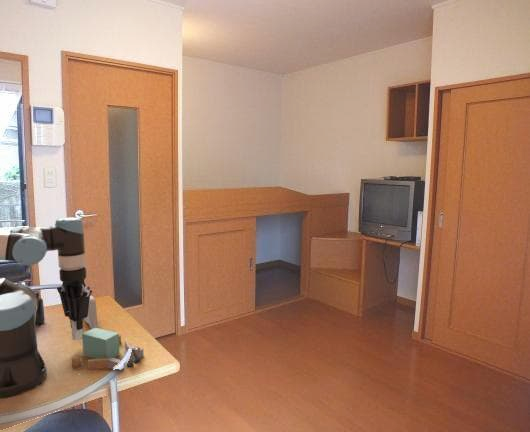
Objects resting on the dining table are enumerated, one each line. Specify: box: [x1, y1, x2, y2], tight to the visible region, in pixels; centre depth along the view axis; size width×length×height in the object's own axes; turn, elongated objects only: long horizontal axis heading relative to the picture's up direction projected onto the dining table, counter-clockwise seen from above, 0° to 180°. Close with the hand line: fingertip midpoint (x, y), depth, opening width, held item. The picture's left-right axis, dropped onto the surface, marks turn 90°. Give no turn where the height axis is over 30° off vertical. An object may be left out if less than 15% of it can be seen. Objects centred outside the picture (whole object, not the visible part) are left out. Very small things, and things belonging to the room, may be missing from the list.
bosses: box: [125, 346, 142, 369], centre depth 117 cm, size 5×2×4 cm, turn 155°
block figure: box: [71, 334, 145, 370], centre depth 120 cm, size 18×15×2 cm
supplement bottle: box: [33, 290, 46, 327], centre depth 145 cm, size 7×7×12 cm
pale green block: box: [81, 327, 121, 359], centre depth 122 cm, size 5×10×7 cm, turn 65°
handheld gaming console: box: [83, 295, 99, 330], centre depth 147 cm, size 11×3×15 cm
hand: (77, 338), depth 126 cm, fingers closed
